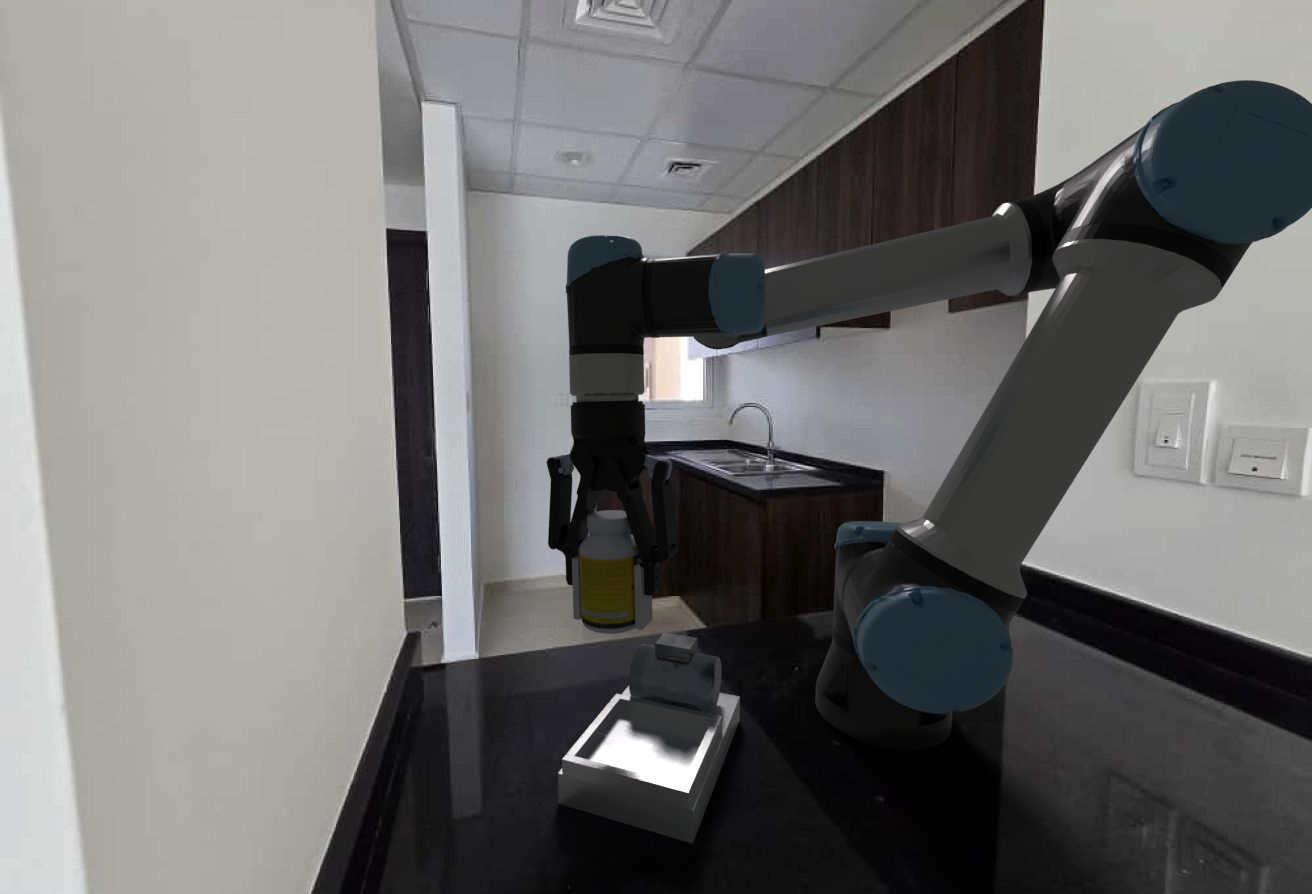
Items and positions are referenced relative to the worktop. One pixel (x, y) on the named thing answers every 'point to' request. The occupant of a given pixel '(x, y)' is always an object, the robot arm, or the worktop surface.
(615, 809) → the motor base
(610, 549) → the pill bottle
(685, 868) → the worktop surface
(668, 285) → the robot arm
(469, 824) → the worktop surface
